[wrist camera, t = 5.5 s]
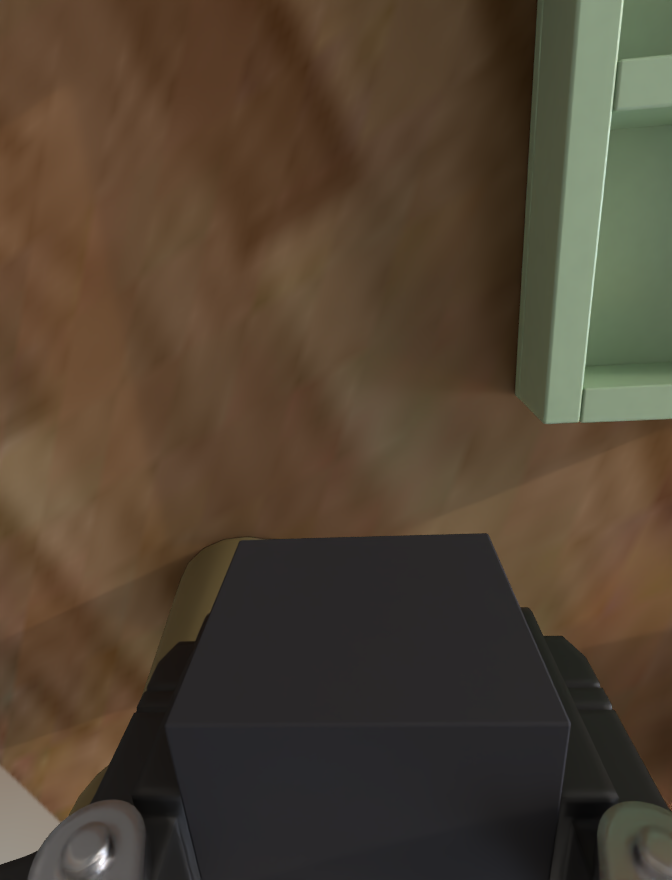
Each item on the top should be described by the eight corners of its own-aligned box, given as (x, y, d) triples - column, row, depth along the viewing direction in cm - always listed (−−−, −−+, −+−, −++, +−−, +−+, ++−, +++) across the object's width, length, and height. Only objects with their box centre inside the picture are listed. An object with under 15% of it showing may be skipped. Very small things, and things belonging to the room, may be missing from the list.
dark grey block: (265, 720, 11) (218, 957, 8) (238, 539, 10) (161, 725, 6) (478, 719, 11) (539, 965, 7) (488, 532, 9) (573, 724, 6)
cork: (148, 585, 21) (-70, 923, 10) (263, 509, 19) (142, 818, 9) (244, 682, 22) (138, 1059, 12) (358, 619, 21) (349, 991, 10)
